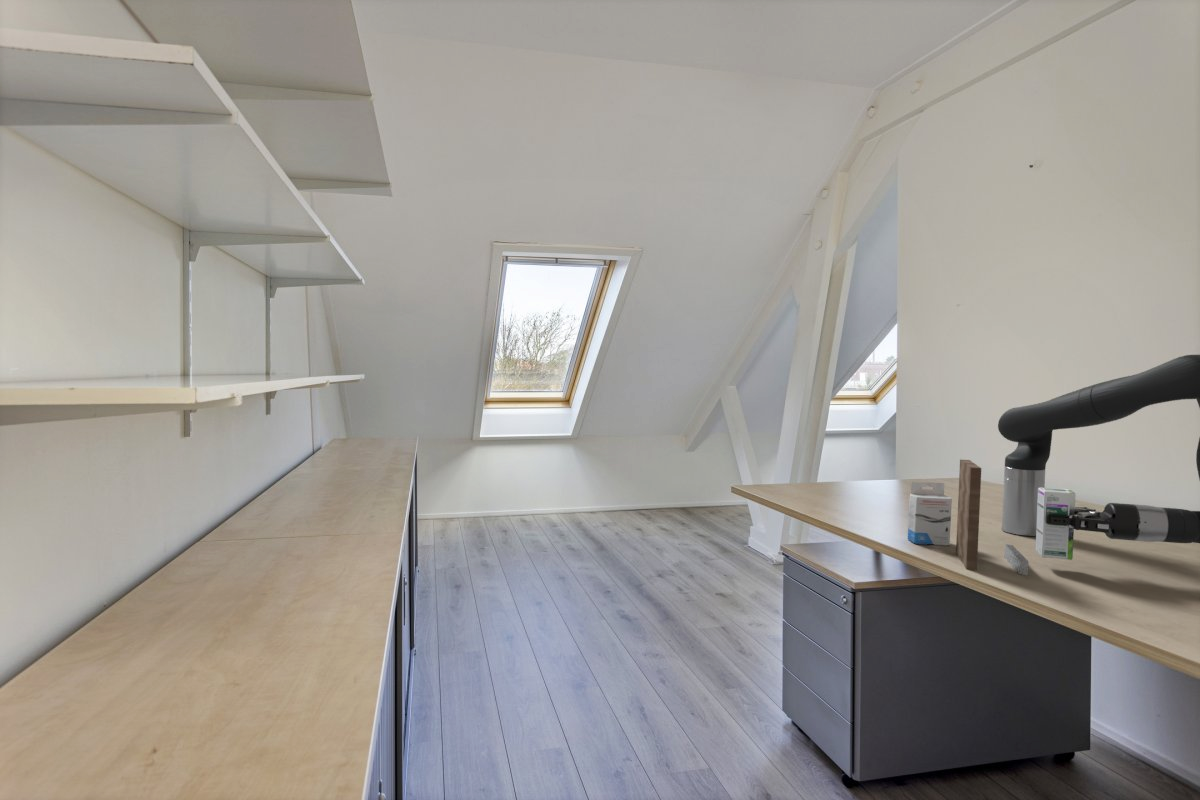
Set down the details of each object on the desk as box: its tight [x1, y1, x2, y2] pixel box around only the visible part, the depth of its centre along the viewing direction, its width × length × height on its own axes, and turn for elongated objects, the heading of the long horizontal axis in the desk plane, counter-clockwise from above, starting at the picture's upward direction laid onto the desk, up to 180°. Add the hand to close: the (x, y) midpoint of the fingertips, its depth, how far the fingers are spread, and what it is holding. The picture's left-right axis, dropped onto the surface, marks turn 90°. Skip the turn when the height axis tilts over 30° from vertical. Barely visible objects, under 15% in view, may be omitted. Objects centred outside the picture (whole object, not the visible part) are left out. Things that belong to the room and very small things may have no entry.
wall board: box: [955, 459, 1029, 576], centre depth 153 cm, size 14×12×22 cm
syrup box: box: [1035, 487, 1076, 561], centre depth 149 cm, size 6×6×14 cm
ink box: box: [907, 481, 953, 546], centre depth 171 cm, size 9×5×15 cm, turn 84°
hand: (1042, 515), depth 150 cm, fingers closed on syrup box, 6 cm apart
